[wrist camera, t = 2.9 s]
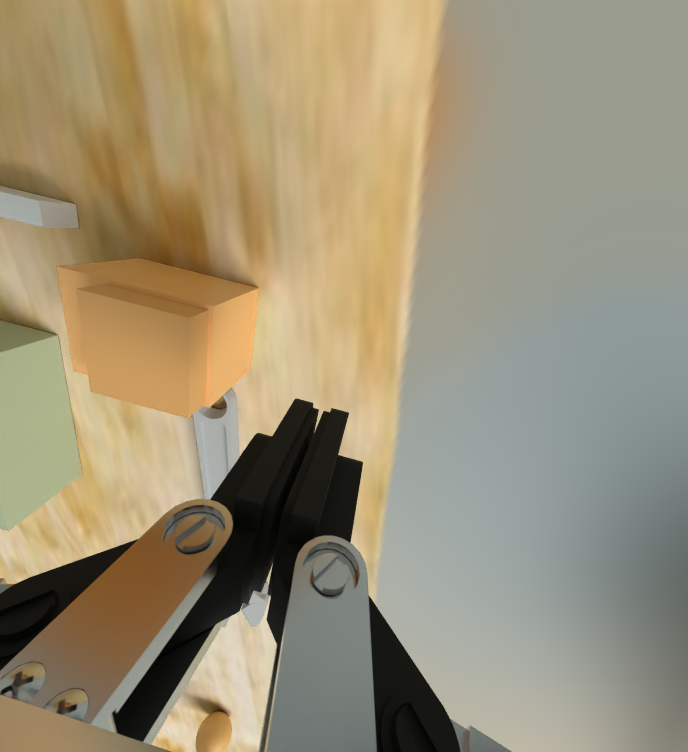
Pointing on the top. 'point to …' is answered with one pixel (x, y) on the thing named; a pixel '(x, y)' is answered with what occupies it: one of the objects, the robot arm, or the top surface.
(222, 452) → the adjustable wrench
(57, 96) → the top surface
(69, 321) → the stepped orange block
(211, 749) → the figurine
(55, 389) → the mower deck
